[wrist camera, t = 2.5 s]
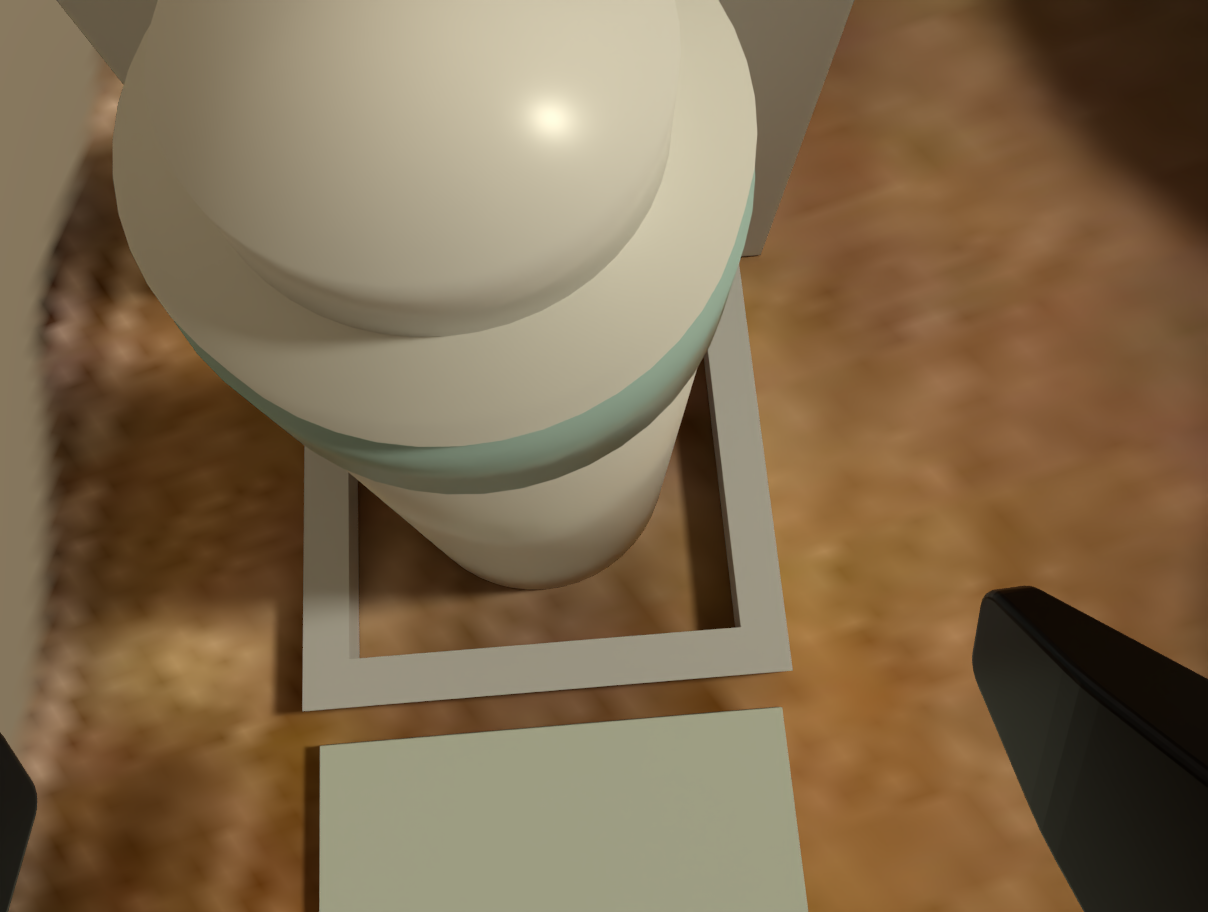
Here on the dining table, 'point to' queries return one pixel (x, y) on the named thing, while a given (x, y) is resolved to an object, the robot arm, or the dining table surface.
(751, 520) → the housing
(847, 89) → the dining table surface
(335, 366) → the cartridge
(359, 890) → the mat
